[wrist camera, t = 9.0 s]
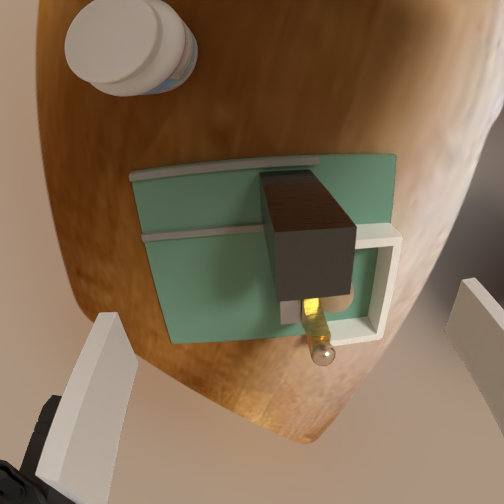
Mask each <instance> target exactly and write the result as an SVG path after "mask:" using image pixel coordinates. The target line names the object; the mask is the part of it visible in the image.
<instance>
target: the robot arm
mask: <svg viewBox="0 0 504 504" xmlns="http://www.w3.org/2000/svg"><path fill="white" fill-rule="evenodd" d="M444 332H445V334H446V335H447V337H448V338H449V340H450V341H451V343H452V345H453V346H454V348H455V349H456V351H457V352H458V354H459V356H460V357H461V359H462V361H463V362H464V364H465V366H466V367H467V369H468V371H469V372H470V374H471V376H472V378H473V379H474V381H475V383H476V384H477V386H478V388H479V390H480V392H481V393H482V395H483V397H484V399H485V401H486V403H487V404H488V406H489V408H490V410H491V412H492V414H493V416H494V418H495V420H496V422H497V424H498V425H499V427H500V429H501V431H502V434H503V436H504V310H503V309H502V308H501V306H500V305H499V304H498V303H497V302H496V300H494V298H493V297H492V296H491V295H490V294H489V293H488V291H487V290H486V289H485V288H484V287H483V286H482V285H481V284H480V282H479V281H478V280H477V279H476V278H471V279H465V280H462V281H461V285H460V288H459V291H458V294H457V297H456V300H455V303H454V306H453V308H452V311H451V314H450V317H449V320H448V323H447V325H446V328H445V330H444ZM138 364H139V363H138V361H137V359H136V356H135V354H134V352H133V349H132V347H131V345H130V342H129V340H128V337H127V335H126V333H125V330H124V328H123V325H122V323H121V320H120V318H119V315H118V312H103V313H99V314H98V316H97V318H96V320H95V322H94V325H93V327H92V329H91V331H90V333H89V335H88V338H87V340H86V342H85V344H84V346H83V349H82V351H81V353H80V355H79V357H78V360H77V362H76V364H75V367H74V369H73V371H72V374H71V376H70V378H69V381H68V383H67V386H66V389H65V391H64V393H63V396H56V395H52V397H51V398H50V399H49V400H48V401H47V402H46V404H45V405H44V406H43V408H42V410H41V413H40V415H39V418H38V422H37V423H36V426H35V428H34V432H33V434H32V436H31V439H30V442H29V445H28V447H27V451H26V453H25V456H24V459H23V462H22V465H21V468H20V470H19V471H18V470H17V469H16V468H14V467H13V466H12V465H11V464H9V463H8V462H7V461H4V460H0V504H107V502H108V496H109V491H110V485H111V480H112V475H113V470H114V464H115V460H116V455H117V450H118V446H119V441H120V437H121V432H122V428H123V424H124V419H125V415H126V411H127V407H128V403H129V399H130V395H131V390H132V387H133V383H134V379H135V375H136V372H137V368H138Z"/></svg>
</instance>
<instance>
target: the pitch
mask: <svg viewBox="0 0 504 504" xmlns="http://www.w3.org/2000/svg"><path fill="white" fill-rule="evenodd" d="M304 169H310V170H311V171H312V172H313V173H314V175H315V176H316V177H317V178H318V179H319V181H320V182H321V183H322V184H323V185H324V186H325V188H326V189H327V190H328V191H329V193H330V194H331V195H332V196H333V197H334V199H335V200H336V201H337V202H338V204H339V205H340V206H341V207H342V208H343V210H344V211H345V212H346V213H347V215H348V216H349V217H350V219H351V220H352V221H353V222H354V224H355V225H357V224H373V223H390V224H391V215H392V206H393V196H394V185H395V172H396V155H394V154H311V155H287V156H269V157H253V158H240V159H228V160H217V161H207V162H198V163H188V164H180V165H172V166H164V167H156V168H149V169H142V170H135V171H132V172H131V173H130V174H128V175H129V181H132V185H133V190H134V196H135V201H136V206H137V211H138V215H139V220H140V225H141V229H142V234H141V238H142V242H144V243H145V247H146V251H147V255H148V259H149V263H150V267H151V271H152V275H153V279H154V283H155V287H156V291H157V294H158V298H159V302H160V305H161V309H162V312H163V316H164V319H165V323H166V326H167V329H168V333H169V336H170V339H171V342H172V344H177V343H203V342H222V341H237V340H251V339H264V338H275V337H286V336H296V335H305V331H303V328H302V324H301V320H300V323H292V324H282V325H281V324H280V318H279V303H278V302H277V300H276V294H275V289H274V283H273V278H272V272H271V267H270V261H269V256H268V250H267V245H266V239H265V234H264V229H263V223H262V214H261V197H260V181H259V172H268V171H284V170H304ZM378 248H379V247H374V248H362V249H355V255H354V264H353V274H352V282H351V283H352V285H353V288H354V298H353V301H352V303H351V304H350V306H349V307H348V308H346V309H345V310H343V311H341V312H338V313H331V312H327V311H325V310H323V309H322V310H323V313H324V316H325V318H326V321H327V322H328V321H336V320H344V319H352V318H359V317H366V316H368V311H369V306H370V300H371V295H372V289H373V283H374V276H375V270H376V263H377V256H378Z"/></svg>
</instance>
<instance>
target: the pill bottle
mask: <svg viewBox="0 0 504 504" xmlns="http://www.w3.org/2000/svg"><path fill="white" fill-rule="evenodd" d="M65 57H66V60H67V63H68V65H69V67H70V68H71V70H72V71H73V72H74V73H75V74H76V75H77V76H78V77H79V78H81V79H83V80H85V81H87V82H90V83H91V84H92V85H93V86H94V87H95V88H97V89H98V90H100V91H102V92H104V93H107V94H110V95H114V96H136V95H147V94H159V93H164V92H168V91H171V90H173V89H175V88H177V87H179V86H180V85H181V84H183V83H184V82H185V81H186V80H187V79H188V78H189V76H190V75H191V73H192V72H193V70H194V67H195V65H196V62H197V57H198V46H197V42H196V39H195V37H194V35H193V33H192V32H191V31H190V29H189V28H188V27H187V25H186V24H185V23H184V22H183V20H182V19H181V18H180V17H179V15H178V14H177V13H176V12H175V10H174V9H173V8H172V7H171V6H169V5H168V4H167V3H165V2H163V1H161V0H94V1H92V2H91V3H89V4H88V5H87V6H86V7H84V8H83V9H82V10H81V11H80V12H79V13H78V14H77V16H76V17H75V18H74V20H73V22H72V23H71V25H70V27H69V29H68V32H67V35H66V39H65Z"/></svg>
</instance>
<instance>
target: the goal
mask: <svg viewBox="0 0 504 504" xmlns="http://www.w3.org/2000/svg"><path fill="white" fill-rule="evenodd" d="M356 226H357V233H356V244H355V249H362V248H374V247H379V248H378V256H377V263H376V270H375V276H374V283H373V289H372V295H371V300H370V306H369V311H368V316H366V317H359V318H352V319H344V320H336V321H328V322H327V324H328V327H329V330H330V333H331V339H330V344H331V345H332V346H339V345H346V344H353V343H359V342H366V341H372V340H378V339H382V337H383V333H384V329H385V325H386V321H387V316H388V312H389V308H390V303H391V299H392V294H393V289H394V284H395V279H396V274H397V269H398V263H399V257H400V252H401V245H402V239H403V236H402V235H401V234H400V233H399V232H398V231H397V230H396V229H395V228H394V227H393V226H392V225H391V224H390V223H373V224H357V225H356Z"/></svg>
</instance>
